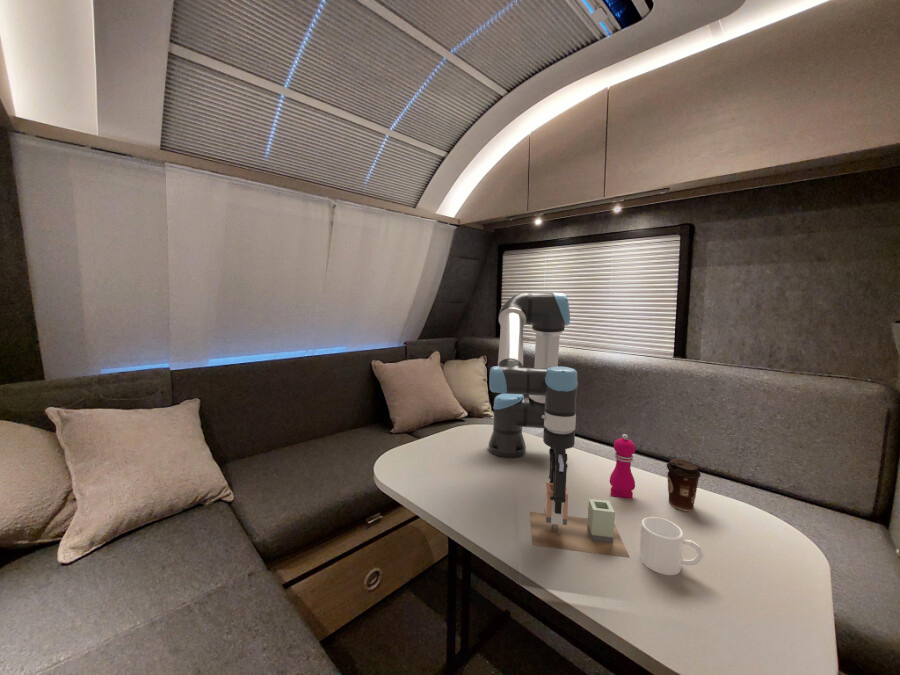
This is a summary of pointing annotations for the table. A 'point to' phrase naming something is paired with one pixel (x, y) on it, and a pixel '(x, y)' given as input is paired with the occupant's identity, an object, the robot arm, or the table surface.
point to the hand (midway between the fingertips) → (555, 516)
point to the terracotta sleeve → (549, 504)
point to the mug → (664, 546)
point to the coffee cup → (682, 483)
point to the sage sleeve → (601, 520)
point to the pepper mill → (623, 469)
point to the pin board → (572, 536)
